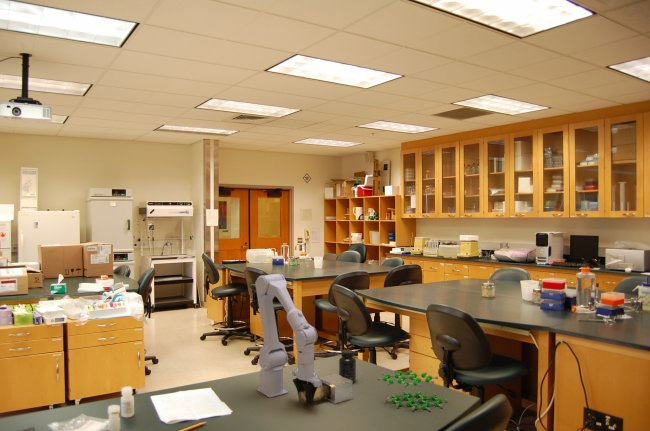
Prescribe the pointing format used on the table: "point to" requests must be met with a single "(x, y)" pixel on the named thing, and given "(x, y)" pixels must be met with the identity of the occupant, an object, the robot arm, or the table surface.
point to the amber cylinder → (319, 394)
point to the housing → (337, 387)
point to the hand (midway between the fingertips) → (305, 401)
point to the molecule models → (409, 392)
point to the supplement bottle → (347, 365)
